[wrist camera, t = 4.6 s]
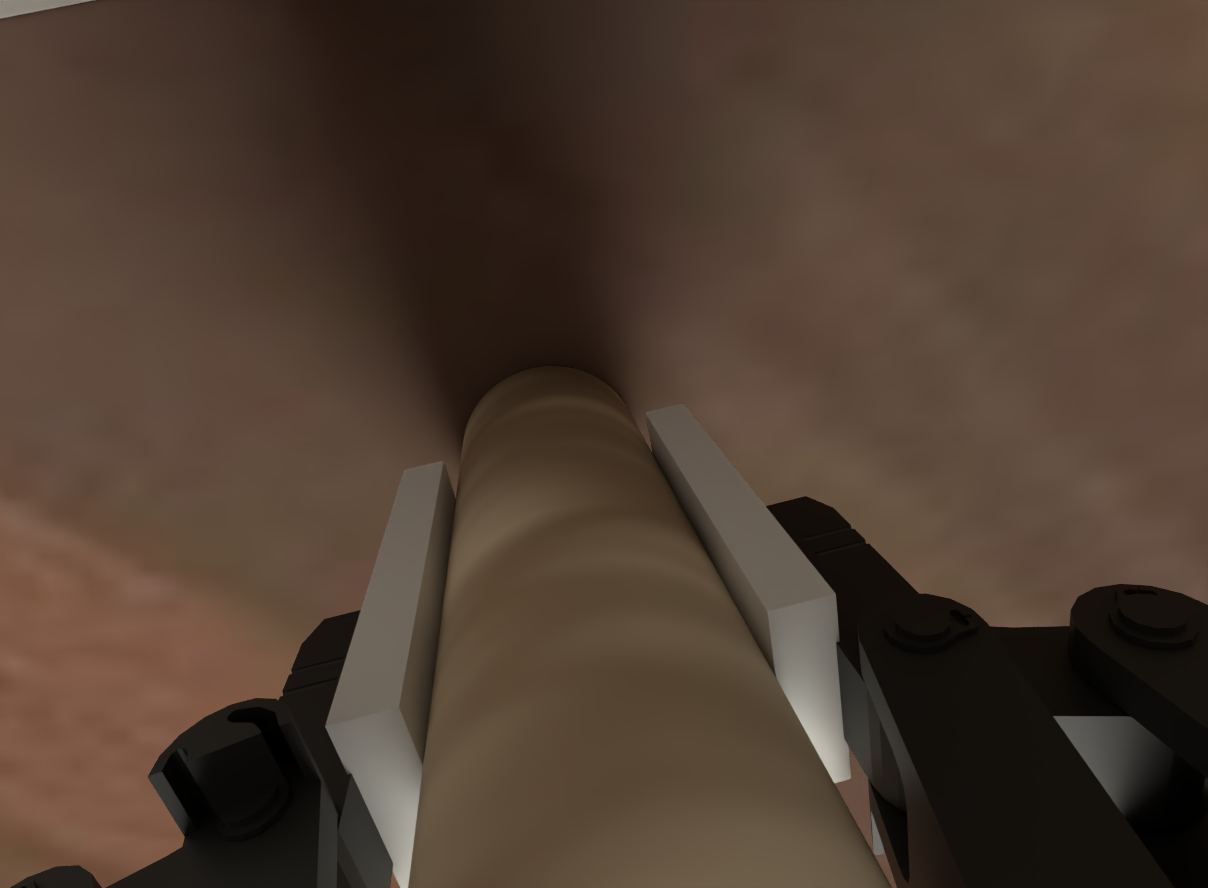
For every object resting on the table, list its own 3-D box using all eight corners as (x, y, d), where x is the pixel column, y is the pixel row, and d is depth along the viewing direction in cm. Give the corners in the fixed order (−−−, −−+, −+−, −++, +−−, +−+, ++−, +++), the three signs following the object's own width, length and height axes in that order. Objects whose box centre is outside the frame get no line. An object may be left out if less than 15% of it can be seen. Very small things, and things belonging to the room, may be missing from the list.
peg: (619, 347, 15) (1261, 1270, 2) (650, 504, 17) (1144, 1580, 4) (441, 389, 15) (122, 1647, 2) (488, 545, 17) (462, 1822, 4)
